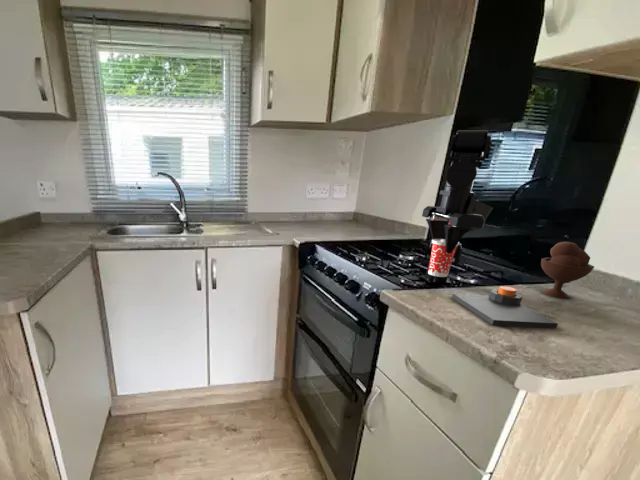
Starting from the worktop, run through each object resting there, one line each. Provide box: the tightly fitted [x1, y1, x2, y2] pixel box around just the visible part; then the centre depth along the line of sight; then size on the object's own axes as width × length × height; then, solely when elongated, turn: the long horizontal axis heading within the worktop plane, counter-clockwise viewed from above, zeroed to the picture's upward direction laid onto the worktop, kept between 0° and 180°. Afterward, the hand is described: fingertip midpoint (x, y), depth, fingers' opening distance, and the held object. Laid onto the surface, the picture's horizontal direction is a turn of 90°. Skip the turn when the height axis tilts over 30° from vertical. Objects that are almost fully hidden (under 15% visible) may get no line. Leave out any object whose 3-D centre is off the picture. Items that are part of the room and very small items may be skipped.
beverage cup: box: [428, 222, 460, 278], centre depth 91 cm, size 6×6×14 cm
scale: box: [451, 288, 559, 329], centre depth 86 cm, size 17×15×3 cm
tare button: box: [498, 285, 518, 296], centre depth 90 cm, size 4×4×2 cm
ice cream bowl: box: [540, 241, 595, 299], centre depth 98 cm, size 11×11×15 cm
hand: (442, 250), depth 91 cm, fingers closed on beverage cup, 6 cm apart
